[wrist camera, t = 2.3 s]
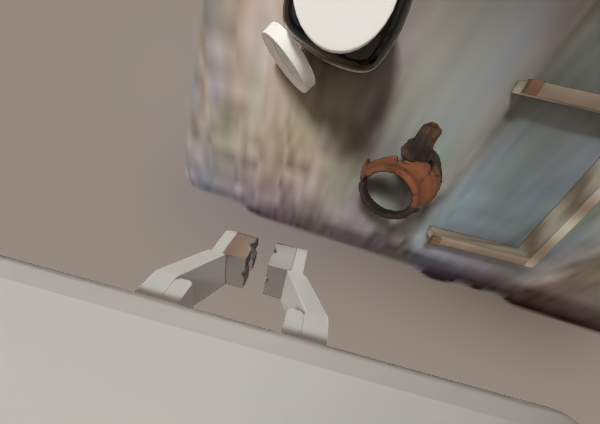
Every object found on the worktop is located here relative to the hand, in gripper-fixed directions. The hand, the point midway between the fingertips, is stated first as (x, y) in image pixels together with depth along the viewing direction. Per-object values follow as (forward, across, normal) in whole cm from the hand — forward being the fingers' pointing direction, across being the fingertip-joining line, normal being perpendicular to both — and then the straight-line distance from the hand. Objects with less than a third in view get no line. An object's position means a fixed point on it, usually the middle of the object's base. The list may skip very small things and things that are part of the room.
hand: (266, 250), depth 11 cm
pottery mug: (+23, -12, 0) cm, 26 cm away
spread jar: (+23, +1, -11) cm, 26 cm away
